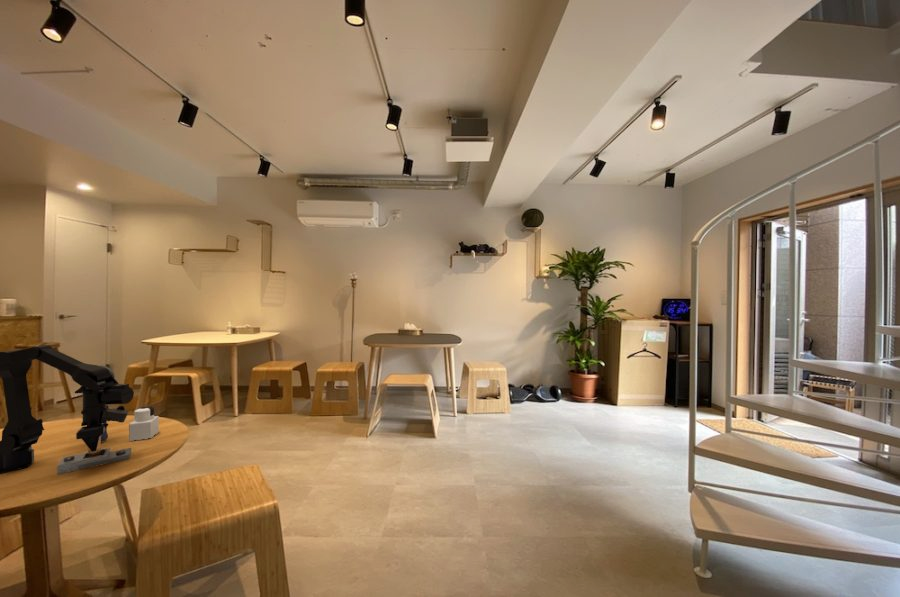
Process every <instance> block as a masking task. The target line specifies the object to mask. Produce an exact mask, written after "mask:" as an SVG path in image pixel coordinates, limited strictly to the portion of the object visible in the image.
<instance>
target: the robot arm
mask: <svg viewBox="0 0 900 597" xmlns="http://www.w3.org/2000/svg"><path fill="white" fill-rule="evenodd" d="M34 360H37V361H39V362H41V363H44V364H46V365H48V366H50V367H52V368H54V369H57V370H59V371H61V372H63V373H65V374H67V375H69V376H70V377H71V379H72V381H73V382H75V383H76V384H78V386H80V387H79V388H78V389H77V390H75V391H74V394H82V409H81V411H80V414H81V415H82V422H81V423H80V426H81V427H80V428H79V429H78V430H77V432H76V434H75V435H76V436H75V440H82V441H83V443H85V445H86V446H87V447H88V448H89V449H90V450H91V452H93V451H96V450H97V446H98V441H99V437H100V436H101V435H103V434H104V432H105V431H106V430H105V428H106V427H107V428H108V426H109V422H118V423H124V422H125V421H126V419H127V416H128V414H129V412H130V411H129V409H126V406H125V405H127V404H129V403H130V402H132V400H133V398H134V396H135V392H134V390H133V388H132V387H130V384H129V383H123V384H122V383H121V384H119V382H118V381H117V380H116V379H115V377H113V376H112V375H111V374H110V373H109V372H110V371H109V370H108V369H107V368H105V367H101V366H102V365H97V364H93V363H92V364H91V363H85V362H82V361H80V360H78V359H76V358H74V357H72V356H70V355H67V354H66V353H64V352H61V351H59V350H57V349H54V347H52V346H51V345H48V344H43V345H36V346H31V347H29V348H25V349H24V348H19V349H18V348H17V349H11V350H4V351H0V378H1V381H2V386H3V393H4V400H5V401H4V402H5V407H6V416H7V422H6V424H5V426H4V427H3V429H2V431H1V440H0V474H3V473H6V472H12V471H18V470H22V469H23V470H24V469H26V468H29V467H30V465H31V464H32V463H34V461H35V449H34V448H32V446H33V445H36V444H38V441H39V439H40V437H41V436H42V435H43V431H44V430H45V428H44V425H43V419H42V418H39V419H37V418H35V417H34V416H33V413H32V409H31V401H30V396H29V395H30V394H29V393H30V392H29V387H28V380H27V379H28V378H27V374H28V372H29V370H30V369H31V367H32V364H33V362H32V361H34ZM105 382H106V383H105ZM101 383H104V384H101ZM98 384H101V385H98ZM109 405H118V406H117V407H116V408H113V407H112V408H109ZM106 422H108V423H107V424H103V423H106ZM88 448H87V449H88Z"/></svg>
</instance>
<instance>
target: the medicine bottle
mask: <svg viewBox="0 0 900 597" xmlns="http://www.w3.org/2000/svg"><path fill="white" fill-rule="evenodd" d="M133 415H134V419H133V421H131V422H130V423H128V440H129V442H133V441H134V440H136V441H143V440H142V439H145V440H149V439H148V438H151V439H153V438H154V437H155V436H156V435H157V434H159V432H160V430H159V429H160V427H159V426H160V424H159V423H160V421H159V420H160V417H159V415H155V408H154V406H150V405H149V406H142V407H139V408H136V409H135V410H134V411H133ZM155 434H156V435H155ZM154 435H155V436H154Z"/></svg>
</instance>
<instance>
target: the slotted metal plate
mask: <svg viewBox="0 0 900 597" xmlns="http://www.w3.org/2000/svg"><path fill="white" fill-rule="evenodd" d="M131 453H132V447H126V448H122V449H118V450H113V451H111V447H107V448H101V455H100V456H95V457H90V458H88V451H87V452H81V453H77V454H72V455H66V456H63V457H62V458H61V459H60V461H59V462H58V464H57V475H62V474H65V473H69V472H75V471H79V470H80V471H81V470H83V469H84V468H85V469H89V468H93V466H94V467H97V466H96V465H98V466H102V465H101V464H103V465H106V463H107V464H111V463H116V462H120V461H125V460H129V459H130V458H131V455H130V454H131Z"/></svg>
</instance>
